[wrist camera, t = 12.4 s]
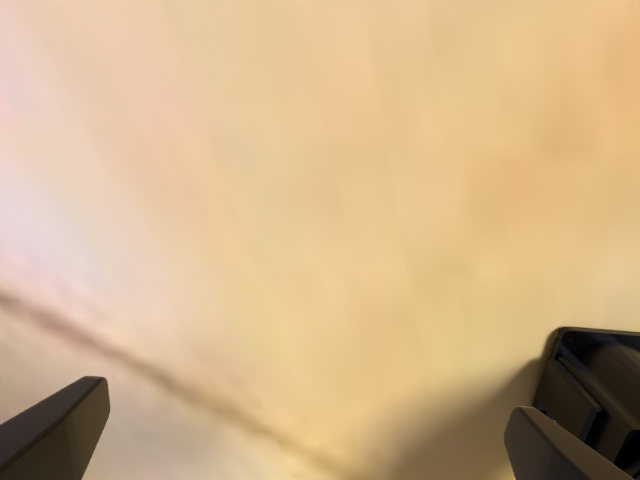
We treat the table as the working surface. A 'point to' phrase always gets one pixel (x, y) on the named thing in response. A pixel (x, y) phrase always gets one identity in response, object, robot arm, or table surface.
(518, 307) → the table surface
